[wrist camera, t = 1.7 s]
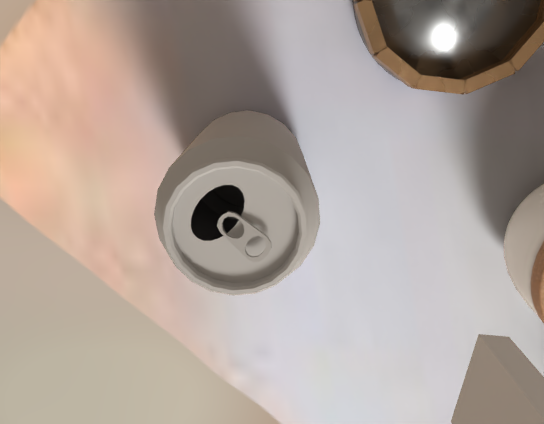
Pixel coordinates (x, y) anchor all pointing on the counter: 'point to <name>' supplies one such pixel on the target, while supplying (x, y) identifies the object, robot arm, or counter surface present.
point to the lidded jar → (527, 250)
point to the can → (238, 205)
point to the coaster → (450, 39)
